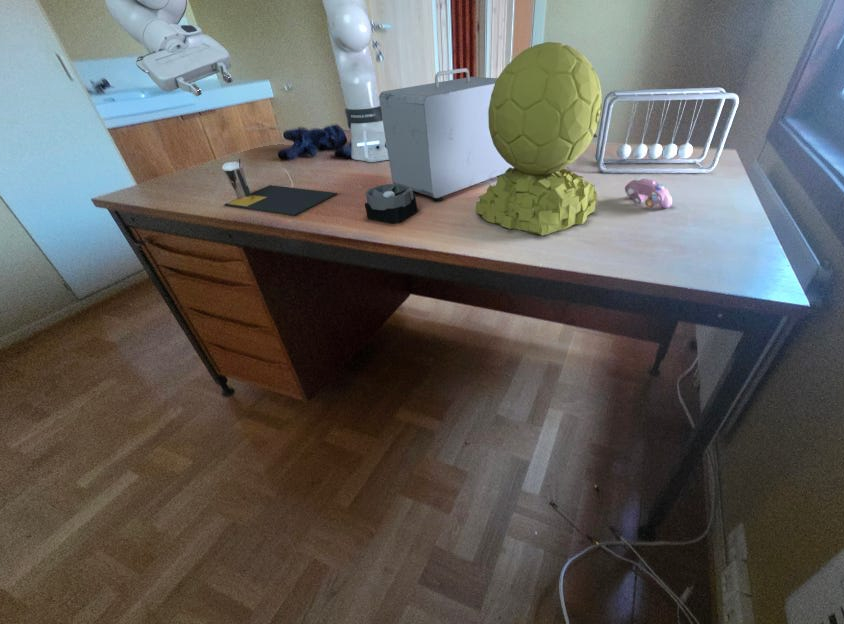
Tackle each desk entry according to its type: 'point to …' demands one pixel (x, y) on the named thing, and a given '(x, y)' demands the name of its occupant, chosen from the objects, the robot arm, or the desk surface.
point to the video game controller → (648, 193)
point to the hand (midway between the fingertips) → (214, 86)
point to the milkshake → (237, 180)
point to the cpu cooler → (390, 203)
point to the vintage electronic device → (441, 135)
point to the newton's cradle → (656, 149)
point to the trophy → (542, 139)
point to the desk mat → (283, 200)
